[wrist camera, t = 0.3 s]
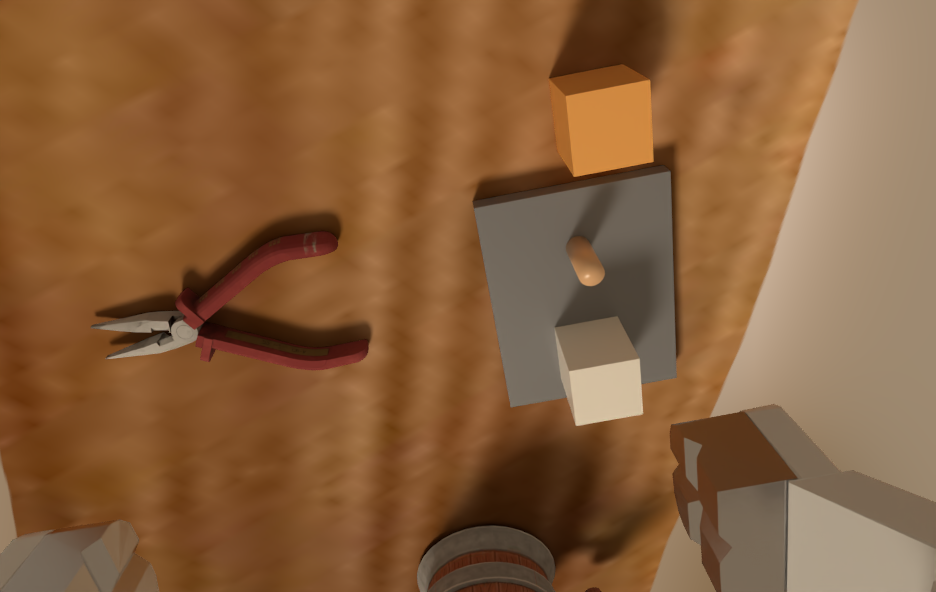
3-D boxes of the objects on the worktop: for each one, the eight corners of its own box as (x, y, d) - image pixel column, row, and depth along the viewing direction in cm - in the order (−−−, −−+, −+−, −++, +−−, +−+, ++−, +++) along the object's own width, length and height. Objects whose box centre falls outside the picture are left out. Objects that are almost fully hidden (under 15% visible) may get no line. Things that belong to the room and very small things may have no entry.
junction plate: (472, 201, 47) (480, 241, 40) (663, 164, 46) (702, 200, 40) (508, 396, 55) (519, 456, 49) (670, 367, 55) (703, 424, 48)
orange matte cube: (548, 78, 43) (565, 96, 38) (622, 64, 43) (650, 79, 38) (557, 150, 45) (574, 177, 40) (627, 137, 45) (653, 161, 40)
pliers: (72, 270, 48) (54, 286, 46) (335, 221, 48) (331, 235, 45) (136, 391, 54) (123, 411, 51) (372, 349, 53) (370, 367, 51)
